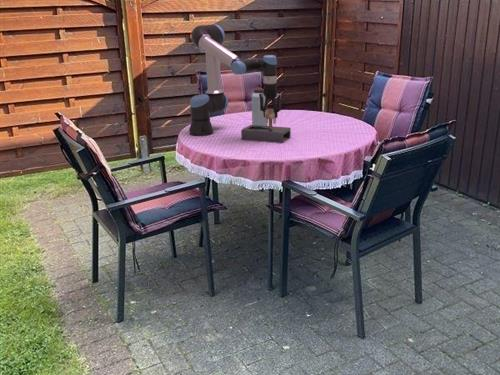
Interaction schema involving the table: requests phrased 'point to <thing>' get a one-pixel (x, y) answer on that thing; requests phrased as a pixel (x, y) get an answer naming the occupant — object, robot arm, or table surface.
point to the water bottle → (257, 108)
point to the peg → (269, 116)
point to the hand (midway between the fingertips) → (270, 123)
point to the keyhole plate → (265, 133)
